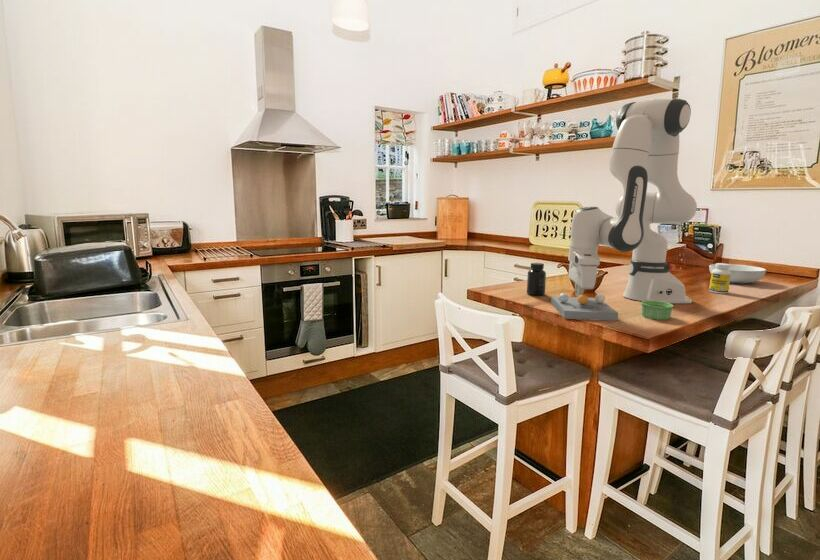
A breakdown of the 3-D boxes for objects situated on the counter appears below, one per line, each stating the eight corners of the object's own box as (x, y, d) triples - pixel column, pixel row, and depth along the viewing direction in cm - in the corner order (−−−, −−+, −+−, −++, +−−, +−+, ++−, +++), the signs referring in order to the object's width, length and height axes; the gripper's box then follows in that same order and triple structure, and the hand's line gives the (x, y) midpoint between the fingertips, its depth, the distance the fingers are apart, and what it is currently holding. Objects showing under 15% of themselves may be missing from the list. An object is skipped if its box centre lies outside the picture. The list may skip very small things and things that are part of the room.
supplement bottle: (542, 292, 175) (545, 262, 172) (546, 296, 168) (548, 265, 166) (525, 292, 175) (527, 261, 173) (527, 295, 169) (529, 264, 166)
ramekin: (665, 314, 146) (666, 301, 145) (676, 321, 137) (678, 307, 136) (635, 312, 147) (637, 299, 146) (645, 320, 138) (646, 306, 137)
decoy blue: (566, 301, 150) (567, 292, 149) (569, 303, 146) (570, 294, 146) (557, 301, 150) (557, 292, 149) (559, 303, 147) (560, 294, 146)
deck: (550, 303, 158) (551, 296, 157) (597, 304, 156) (598, 298, 155) (564, 318, 138) (564, 310, 138) (617, 320, 136) (618, 312, 136)
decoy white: (602, 302, 149) (603, 293, 149) (606, 304, 146) (606, 295, 146) (593, 301, 150) (593, 292, 149) (595, 304, 146) (596, 294, 146)
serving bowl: (712, 276, 217) (714, 262, 216) (766, 282, 203) (769, 267, 202) (702, 281, 203) (704, 266, 202) (759, 288, 188) (762, 272, 187)
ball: (588, 293, 145) (589, 303, 144) (586, 296, 148) (586, 305, 147) (578, 293, 145) (578, 302, 144) (576, 295, 148) (576, 305, 147)
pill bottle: (705, 291, 181) (709, 263, 179) (714, 290, 184) (718, 262, 182) (722, 294, 175) (726, 265, 173) (731, 293, 178) (736, 264, 176)
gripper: (565, 252, 158) (562, 290, 161) (580, 260, 138) (576, 303, 141) (584, 252, 157) (580, 290, 160) (601, 260, 137) (597, 304, 140)
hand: (579, 296), depth 150 cm, fingers closed
